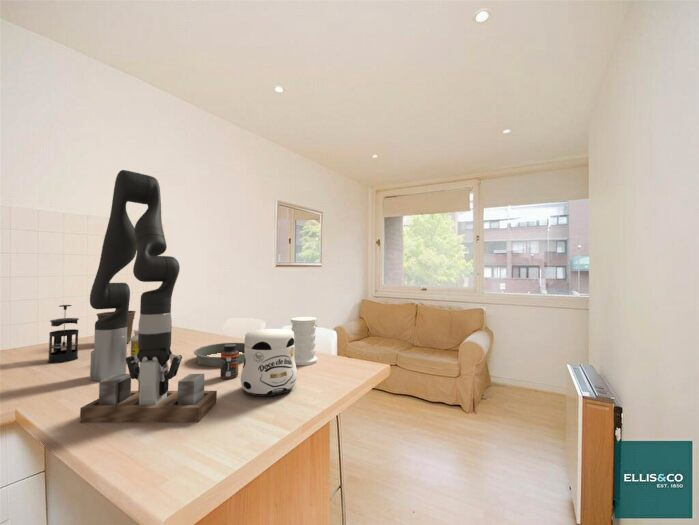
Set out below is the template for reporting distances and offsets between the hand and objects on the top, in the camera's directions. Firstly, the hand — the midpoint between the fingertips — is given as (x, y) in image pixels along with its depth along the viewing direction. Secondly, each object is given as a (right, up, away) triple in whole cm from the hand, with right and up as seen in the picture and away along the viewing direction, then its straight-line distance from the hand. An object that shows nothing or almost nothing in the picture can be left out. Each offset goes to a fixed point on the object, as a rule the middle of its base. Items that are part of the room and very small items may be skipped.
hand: (153, 394), depth 82 cm
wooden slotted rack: (0, -5, 0) cm, 5 cm away
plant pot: (-68, -7, +76) cm, 102 cm away
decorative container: (+33, -7, +48) cm, 58 cm away
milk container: (+27, -6, +16) cm, 32 cm away
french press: (-68, -6, +47) cm, 83 cm away
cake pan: (-1, -7, +51) cm, 51 cm away
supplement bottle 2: (+9, -6, +28) cm, 30 cm away
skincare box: (0, -3, 0) cm, 3 cm away
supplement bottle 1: (-36, -6, +48) cm, 60 cm away
